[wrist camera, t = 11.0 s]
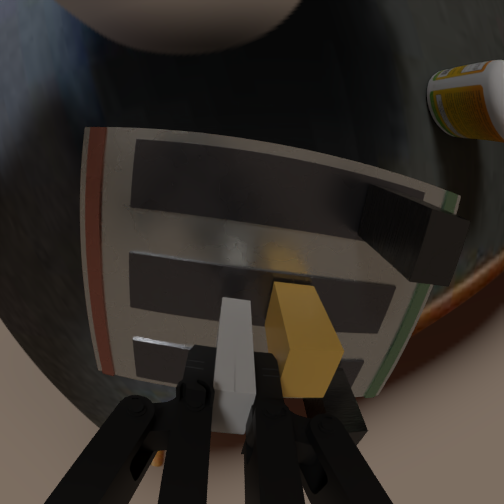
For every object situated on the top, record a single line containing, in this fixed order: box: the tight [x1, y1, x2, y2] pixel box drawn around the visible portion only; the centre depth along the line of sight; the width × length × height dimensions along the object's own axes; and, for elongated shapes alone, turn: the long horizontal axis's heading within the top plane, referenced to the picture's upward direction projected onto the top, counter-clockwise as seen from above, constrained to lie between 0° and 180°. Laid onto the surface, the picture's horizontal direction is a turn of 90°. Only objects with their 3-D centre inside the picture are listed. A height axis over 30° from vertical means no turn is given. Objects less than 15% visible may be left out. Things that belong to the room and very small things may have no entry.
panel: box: [80, 127, 471, 445], centre depth 16 cm, size 24×18×10 cm
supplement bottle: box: [427, 60, 504, 142], centre depth 12 cm, size 5×5×10 cm
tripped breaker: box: [265, 281, 344, 398], centre depth 15 cm, size 2×3×6 cm
